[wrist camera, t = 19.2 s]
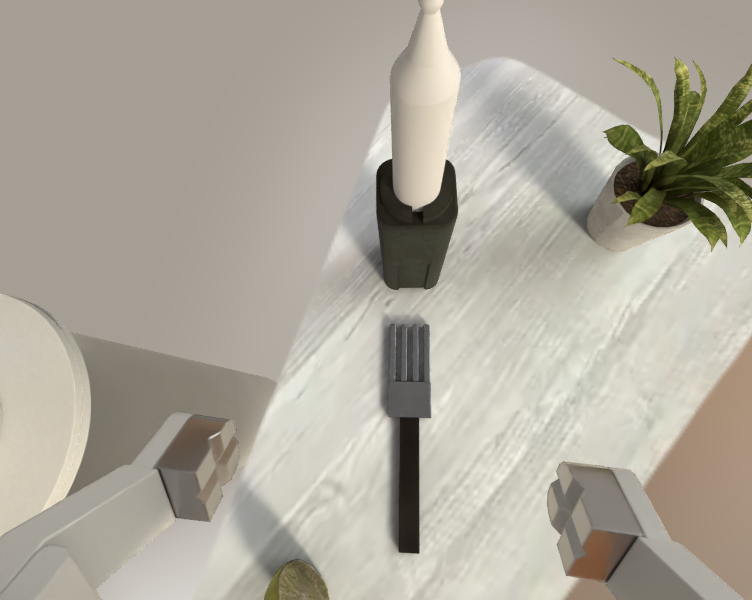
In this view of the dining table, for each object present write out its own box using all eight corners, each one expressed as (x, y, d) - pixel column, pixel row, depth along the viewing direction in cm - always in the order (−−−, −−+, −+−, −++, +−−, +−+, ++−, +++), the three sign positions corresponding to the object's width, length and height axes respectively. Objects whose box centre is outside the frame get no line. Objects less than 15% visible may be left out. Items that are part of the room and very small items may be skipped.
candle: (436, 239, 37) (504, -75, 13) (439, 289, 36) (520, 41, 12) (383, 240, 37) (354, -64, 13) (384, 290, 36) (353, 51, 12)
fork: (385, 549, 30) (385, 552, 29) (390, 325, 35) (389, 324, 34) (431, 552, 30) (432, 554, 29) (429, 326, 35) (430, 324, 34)
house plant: (502, 259, 36) (581, 144, 20) (550, 144, 39) (651, -33, 23) (657, 320, 34) (883, 244, 18) (695, 193, 37) (916, 32, 21)
